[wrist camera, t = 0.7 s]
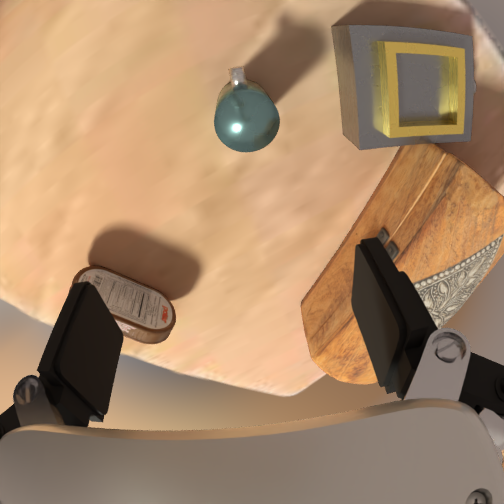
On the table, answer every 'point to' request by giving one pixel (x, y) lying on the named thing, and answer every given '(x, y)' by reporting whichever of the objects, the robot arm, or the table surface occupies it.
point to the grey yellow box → (404, 85)
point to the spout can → (245, 114)
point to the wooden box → (409, 251)
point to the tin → (132, 304)
